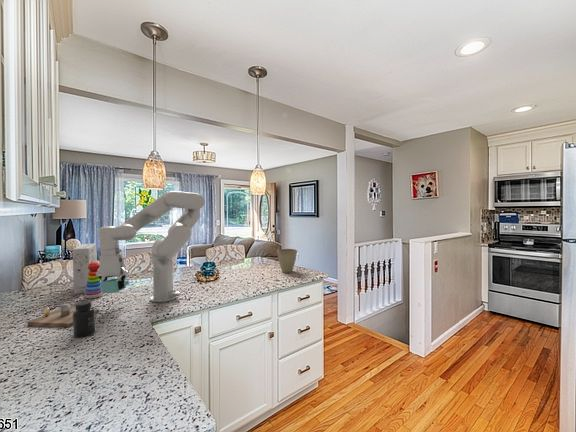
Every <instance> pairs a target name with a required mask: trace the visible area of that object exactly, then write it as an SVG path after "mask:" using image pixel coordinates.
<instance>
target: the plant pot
mask: <svg viewBox="0 0 576 432" xmlns="http://www.w3.org/2000/svg"><path fill="white" fill-rule="evenodd" d="M276 251H277V252H276V253H277V258H278V262H279V266H280V269H281V272H282V273H292V272H293V270H294V267H295V264H296V259H297V256H298V255H297V254H298V249H295V248H294V249H293V248H278V249H277V250H276Z"/></svg>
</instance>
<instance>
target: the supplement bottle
mask: <svg viewBox="0 0 576 432" xmlns="http://www.w3.org/2000/svg"><path fill="white" fill-rule="evenodd" d="M74 308H75V309H76V311H75V312H74V313H73V325H72V331H73V336H74V337H75V338H85V337H89V336H91V335H93V334H94V333H95V332H96V314H95V311H94V309H95V308H94V307H92V302H91V301H90V300H84V301H79V302H77V303H75V307H74Z"/></svg>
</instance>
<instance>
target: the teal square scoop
mask: <svg viewBox="0 0 576 432" xmlns="http://www.w3.org/2000/svg"><path fill="white" fill-rule="evenodd" d="M118 281H119V280H118V278H117V277H112V278H111V277H110V278H108V279H107V280H106V281H103V282H101V281H100V282H101V290H102V293H103V294H115V293H119V292H120V291H123V290H124V289H126V288H127V286H128V285H129V284H130V282H129V279H126V278H125V279H124V288H122V289H120V290H119V287H118Z"/></svg>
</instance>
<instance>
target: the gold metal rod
mask: <svg viewBox="0 0 576 432" xmlns="http://www.w3.org/2000/svg"><path fill="white" fill-rule="evenodd" d="M49 313H50V307H49V306H48V307H45V308H44V315H45V317H48V316H49Z"/></svg>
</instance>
